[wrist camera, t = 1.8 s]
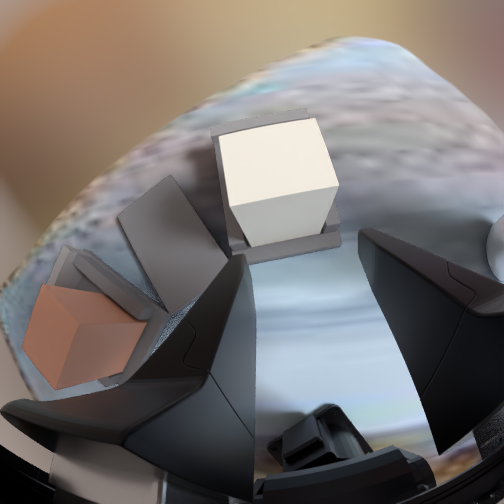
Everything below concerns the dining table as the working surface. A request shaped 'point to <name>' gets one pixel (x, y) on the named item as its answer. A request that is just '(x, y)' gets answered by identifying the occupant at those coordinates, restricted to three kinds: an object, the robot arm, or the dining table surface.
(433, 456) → the dining table surface
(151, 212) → the grey tray
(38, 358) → the terracotta key
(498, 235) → the plastic bottle
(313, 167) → the cream key
